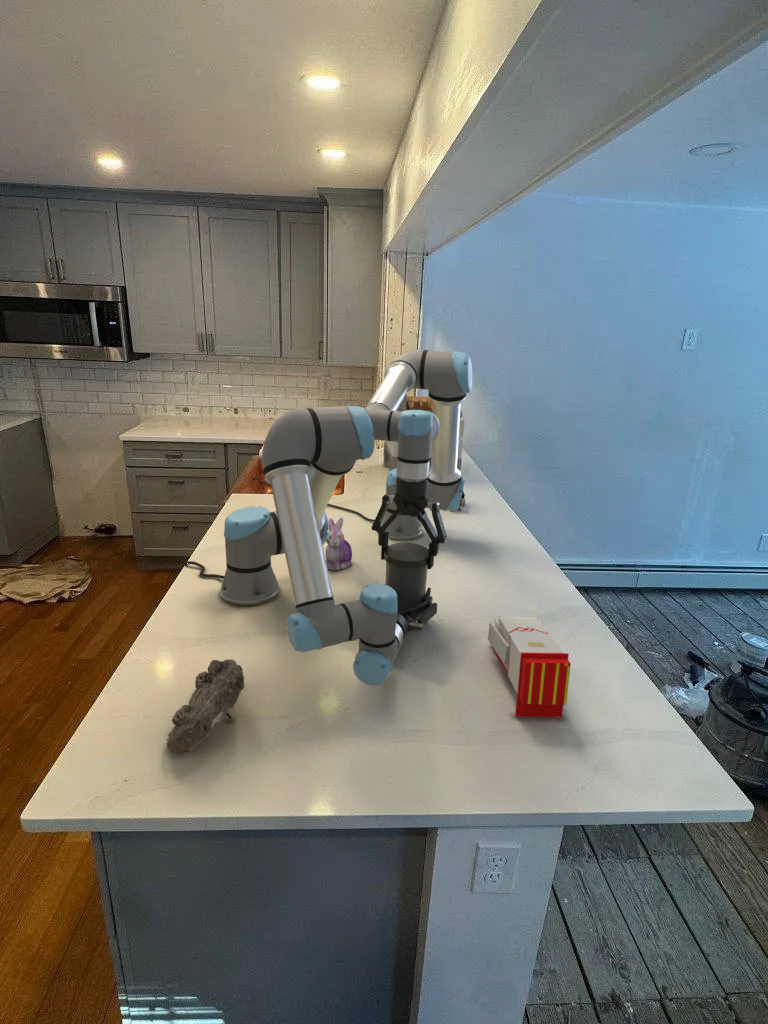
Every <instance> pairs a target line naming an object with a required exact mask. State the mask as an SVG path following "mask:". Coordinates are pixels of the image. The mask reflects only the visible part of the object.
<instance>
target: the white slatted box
mask: <svg viewBox="0 0 768 1024" xmlns="http://www.w3.org/2000/svg"><path fill="white" fill-rule="evenodd" d="M407 394H408V392H407V393H406V395H405V396H404V398H403V400H402V402H401V404H400V406H399V407H398V409H397V411H401V412H403V411H407V410H423V411H429V412H431V413H433V401H432V400H431V399H430V398H429V396H415V395H414V396H413V395H412V396H411V395H407ZM464 429H465V419H464V418H463V411H462V408H460V424H459V441H458V457H457V469H458V470H459V471H460V472H462V461H463V460H462V453H463V442H464V441H463V440H462V439H463V438H464V431H465V430H464ZM431 449H432V442H431V447H430V460H429V461H430V462H429V467H431ZM397 457H398V442H393V441H384V442H383V466H384V467H388V468H389V472H390V471H391V470H393V469H396V468H397Z"/></svg>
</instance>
